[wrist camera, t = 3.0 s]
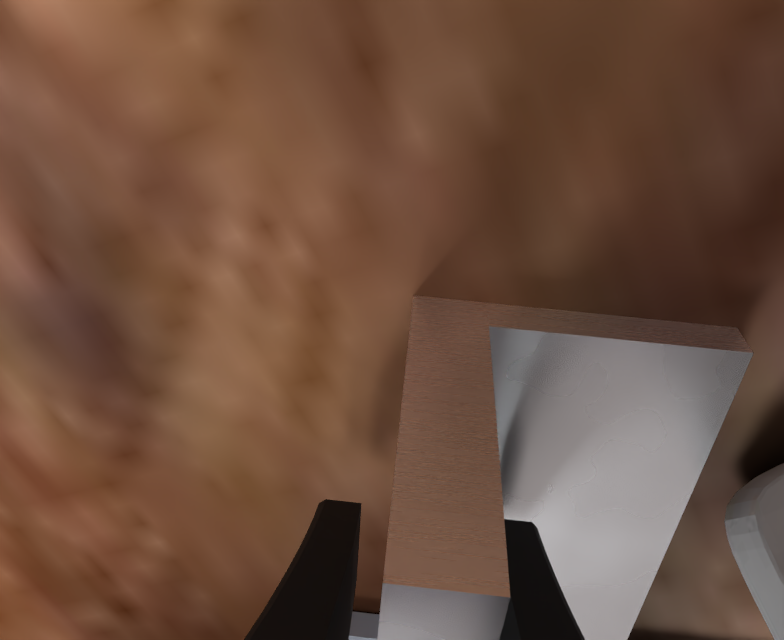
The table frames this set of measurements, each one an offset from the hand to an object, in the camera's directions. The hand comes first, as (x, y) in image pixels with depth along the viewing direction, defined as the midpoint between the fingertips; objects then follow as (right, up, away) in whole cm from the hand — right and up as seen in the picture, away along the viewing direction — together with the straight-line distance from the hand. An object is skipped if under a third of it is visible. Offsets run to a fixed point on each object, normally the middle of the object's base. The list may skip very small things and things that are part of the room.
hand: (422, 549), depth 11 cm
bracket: (+2, +1, +1) cm, 3 cm away
